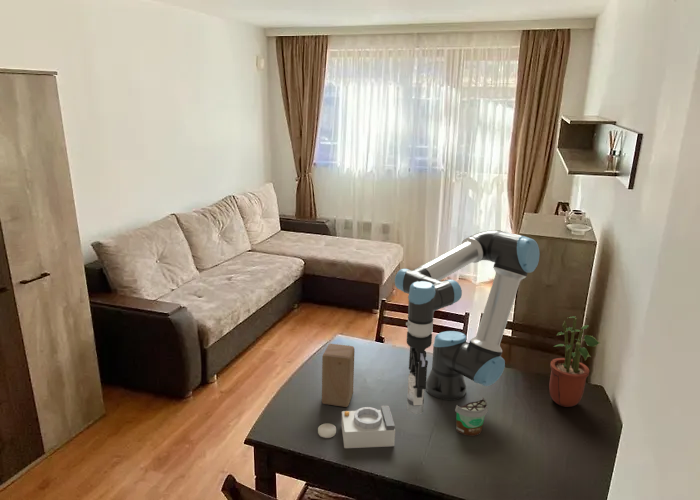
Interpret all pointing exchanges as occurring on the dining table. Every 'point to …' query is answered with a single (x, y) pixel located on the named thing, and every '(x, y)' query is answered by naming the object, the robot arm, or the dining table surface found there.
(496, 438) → the dining table surface
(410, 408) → the grey tall rounded cylinder
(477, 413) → the food container
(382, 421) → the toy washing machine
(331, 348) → the wooden block
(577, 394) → the potted plant
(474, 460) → the dining table surface
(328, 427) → the rear cap
